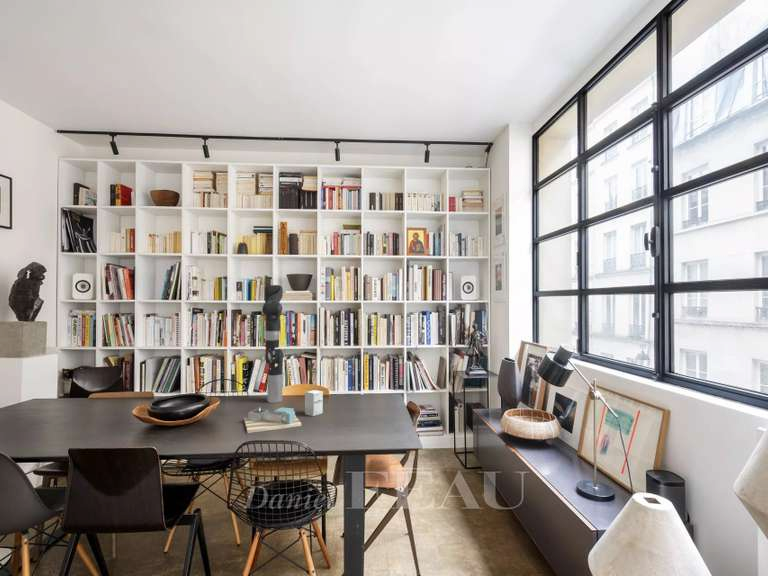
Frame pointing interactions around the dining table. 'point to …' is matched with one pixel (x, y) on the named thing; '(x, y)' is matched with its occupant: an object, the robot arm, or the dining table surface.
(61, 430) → the dining table surface
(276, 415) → the link
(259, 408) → the cylinder
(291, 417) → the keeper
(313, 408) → the supplement box
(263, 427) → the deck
